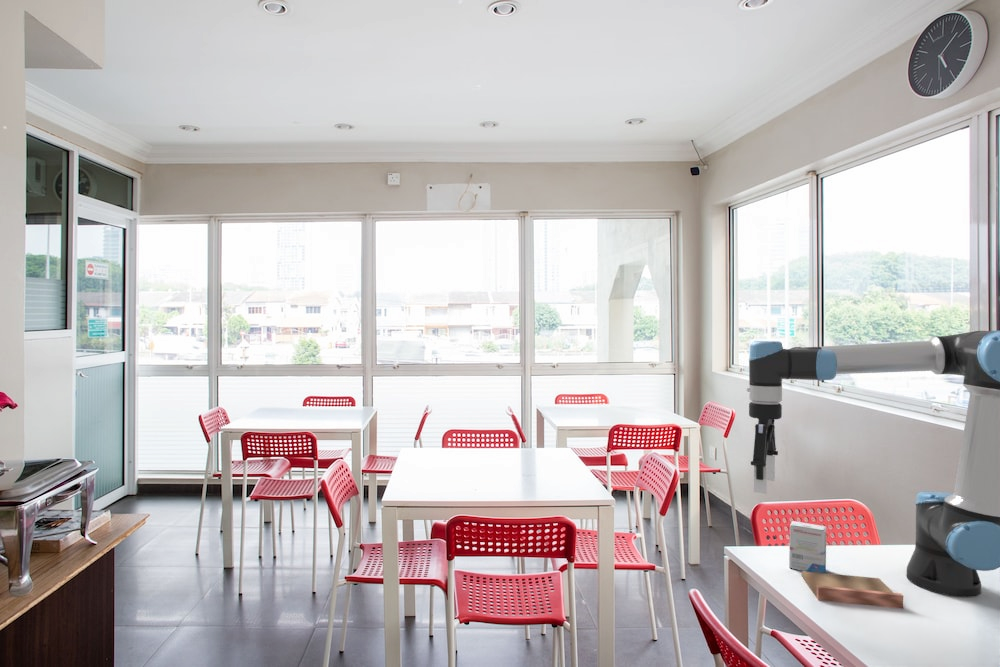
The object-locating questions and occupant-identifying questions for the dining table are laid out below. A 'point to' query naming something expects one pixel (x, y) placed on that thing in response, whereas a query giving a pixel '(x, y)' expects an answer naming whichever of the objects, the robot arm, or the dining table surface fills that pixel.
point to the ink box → (807, 547)
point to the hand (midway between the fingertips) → (764, 486)
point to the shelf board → (852, 589)
